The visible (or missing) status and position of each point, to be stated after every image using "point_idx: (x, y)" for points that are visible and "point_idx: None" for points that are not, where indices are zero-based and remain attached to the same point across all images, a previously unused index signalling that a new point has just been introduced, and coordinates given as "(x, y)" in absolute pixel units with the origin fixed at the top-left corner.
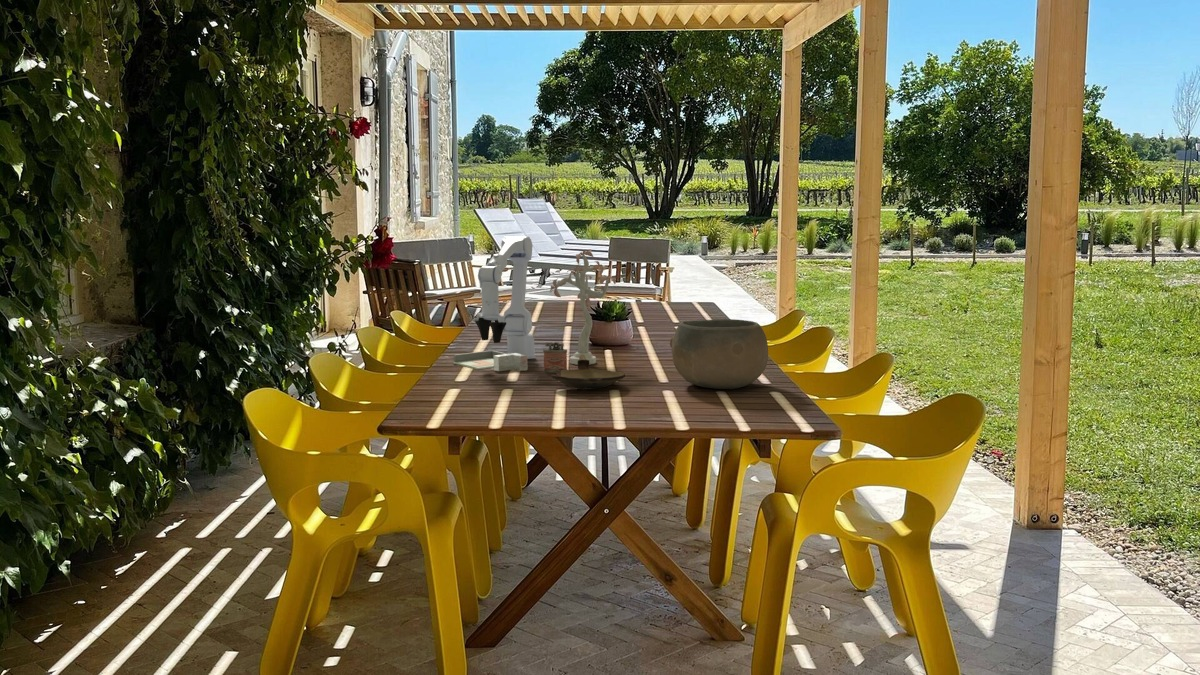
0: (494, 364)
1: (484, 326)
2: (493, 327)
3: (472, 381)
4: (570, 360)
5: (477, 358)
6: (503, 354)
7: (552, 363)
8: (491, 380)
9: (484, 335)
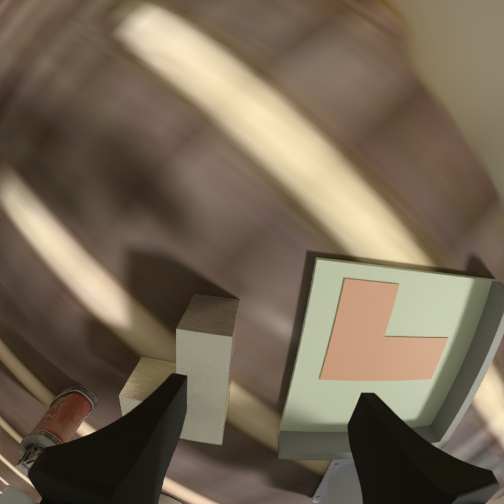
0: (229, 311)
1: (388, 493)
2: (76, 443)
3: (87, 54)
4: (165, 501)
5: (457, 380)
6: (223, 391)
7: (51, 409)
8: (50, 128)
9: (366, 430)
